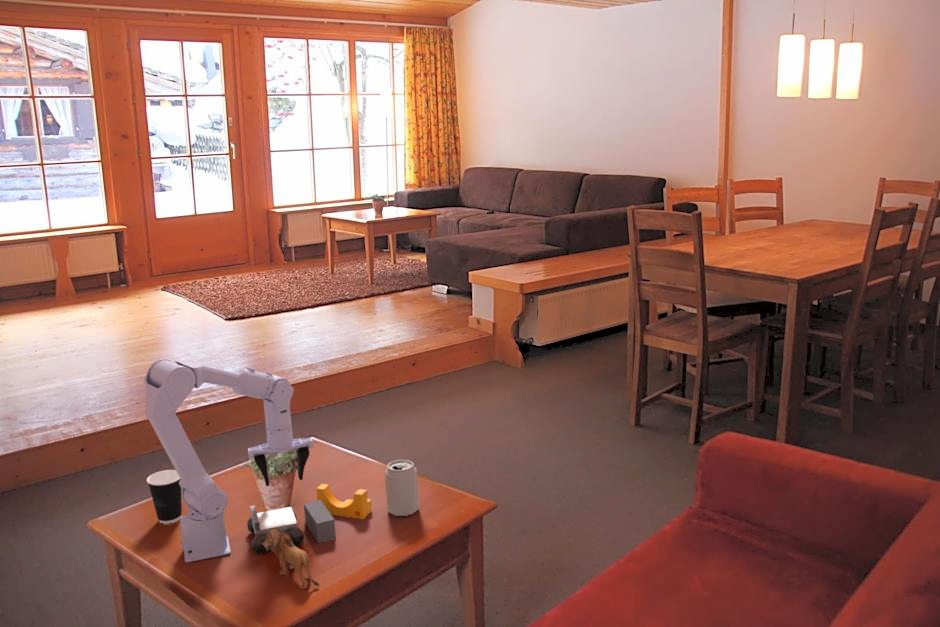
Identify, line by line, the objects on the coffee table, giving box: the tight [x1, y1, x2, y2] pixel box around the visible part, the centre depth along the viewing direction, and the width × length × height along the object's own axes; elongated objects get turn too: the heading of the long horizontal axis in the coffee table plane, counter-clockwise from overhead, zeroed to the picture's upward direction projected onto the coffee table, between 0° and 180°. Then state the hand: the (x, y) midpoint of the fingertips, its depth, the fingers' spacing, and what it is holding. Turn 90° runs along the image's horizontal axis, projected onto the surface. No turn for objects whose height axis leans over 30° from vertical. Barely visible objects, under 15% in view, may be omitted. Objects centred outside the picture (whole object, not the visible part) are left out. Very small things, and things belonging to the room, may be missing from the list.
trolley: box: [246, 504, 305, 555], centre depth 190 cm, size 11×11×7 cm
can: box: [384, 459, 420, 517], centre depth 200 cm, size 8×8×12 cm
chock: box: [303, 500, 337, 544], centre depth 193 cm, size 4×11×5 cm, turn 25°
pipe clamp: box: [316, 483, 373, 520], centre depth 202 cm, size 12×4×6 cm, turn 69°
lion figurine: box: [263, 529, 320, 590], centre depth 174 cm, size 15×5×9 cm, turn 52°
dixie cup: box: [146, 469, 183, 525], centre depth 200 cm, size 8×8×11 cm
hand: (284, 481), depth 198 cm, fingers open, 7 cm apart
